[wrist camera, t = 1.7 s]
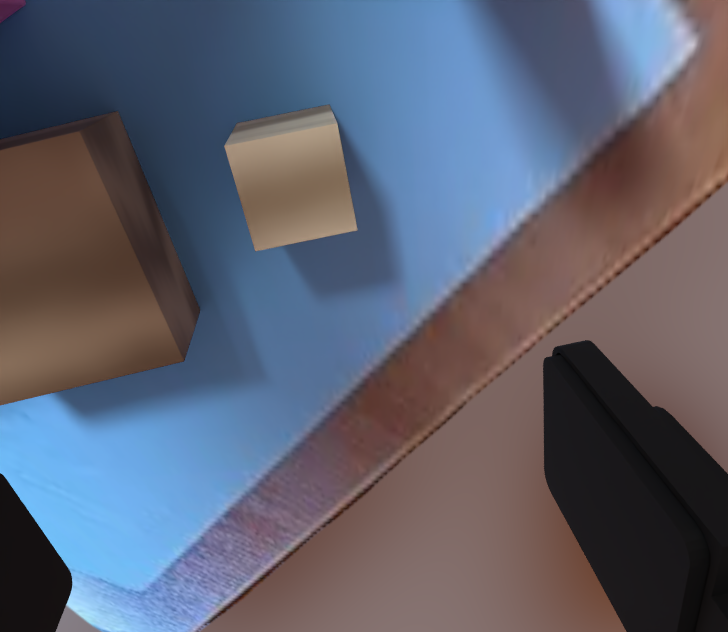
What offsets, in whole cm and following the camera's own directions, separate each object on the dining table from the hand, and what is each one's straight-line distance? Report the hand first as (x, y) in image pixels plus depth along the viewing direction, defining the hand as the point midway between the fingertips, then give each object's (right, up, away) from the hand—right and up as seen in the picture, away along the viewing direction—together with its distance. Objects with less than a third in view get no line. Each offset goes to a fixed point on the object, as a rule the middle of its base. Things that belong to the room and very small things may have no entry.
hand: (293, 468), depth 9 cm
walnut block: (-16, +7, +21) cm, 28 cm away
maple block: (-3, +11, +21) cm, 24 cm away
